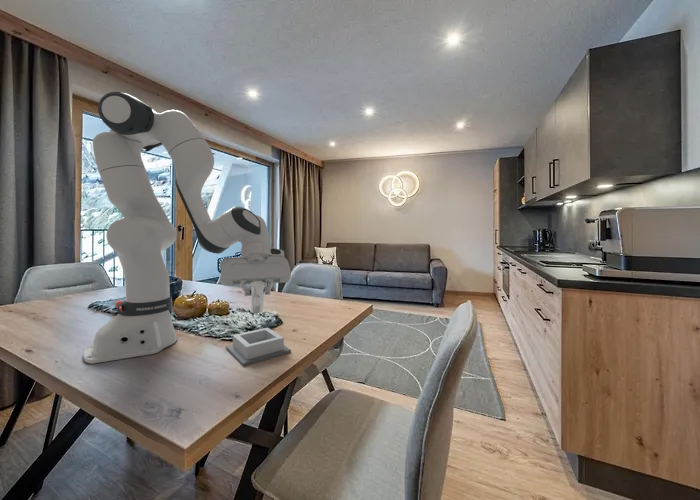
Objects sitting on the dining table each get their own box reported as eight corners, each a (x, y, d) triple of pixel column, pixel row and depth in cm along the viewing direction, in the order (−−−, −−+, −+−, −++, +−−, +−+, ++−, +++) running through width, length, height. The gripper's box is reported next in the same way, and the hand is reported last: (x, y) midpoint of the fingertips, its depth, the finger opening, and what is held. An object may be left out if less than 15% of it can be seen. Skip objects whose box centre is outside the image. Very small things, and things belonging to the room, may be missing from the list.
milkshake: (263, 314, 84) (263, 279, 83) (245, 313, 85) (246, 278, 84) (270, 310, 88) (270, 277, 87) (254, 309, 89) (254, 276, 88)
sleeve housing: (243, 366, 77) (242, 350, 77) (226, 348, 88) (225, 334, 88) (290, 352, 86) (290, 338, 86) (270, 338, 97) (270, 325, 97)
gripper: (219, 251, 88) (217, 290, 80) (288, 250, 95) (293, 286, 86) (221, 264, 92) (219, 302, 84) (286, 262, 99) (291, 297, 91)
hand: (257, 294), depth 85 cm, fingers closed on milkshake, 4 cm apart
